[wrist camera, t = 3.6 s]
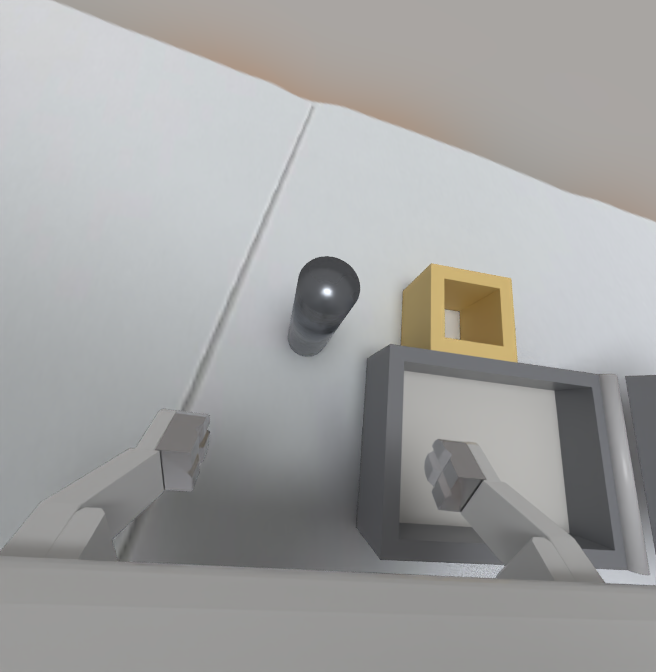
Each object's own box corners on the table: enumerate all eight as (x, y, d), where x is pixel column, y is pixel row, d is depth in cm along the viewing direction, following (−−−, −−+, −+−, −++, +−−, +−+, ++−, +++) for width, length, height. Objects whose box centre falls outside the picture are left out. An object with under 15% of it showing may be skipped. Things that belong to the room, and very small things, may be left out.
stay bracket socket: (400, 362, 25) (430, 349, 20) (402, 291, 26) (431, 263, 22) (472, 372, 26) (517, 362, 21) (469, 302, 27) (511, 278, 23)
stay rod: (285, 353, 23) (293, 309, 14) (290, 317, 24) (302, 251, 15) (323, 358, 24) (357, 319, 14) (327, 322, 24) (362, 262, 15)
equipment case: (356, 527, 21) (384, 564, 16) (367, 358, 24) (393, 341, 19) (568, 539, 23) (655, 575, 18) (552, 383, 27) (621, 375, 21)
